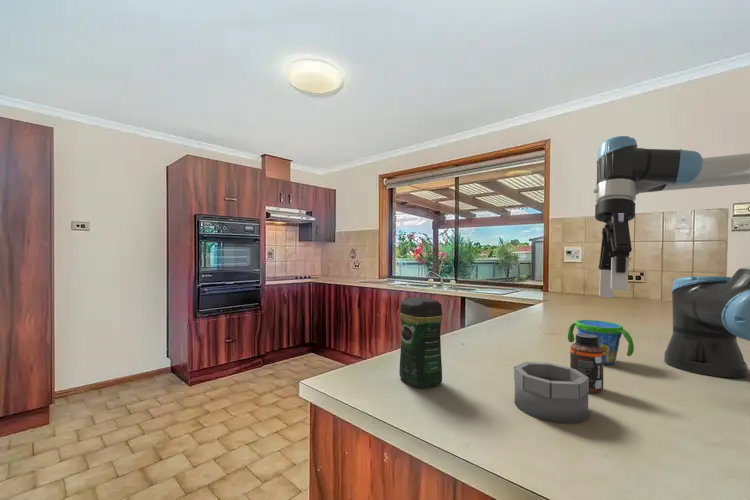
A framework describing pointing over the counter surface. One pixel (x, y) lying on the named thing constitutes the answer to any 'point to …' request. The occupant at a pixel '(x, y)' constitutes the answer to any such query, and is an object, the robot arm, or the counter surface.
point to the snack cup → (603, 337)
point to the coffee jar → (421, 342)
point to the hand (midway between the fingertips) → (612, 293)
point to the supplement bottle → (588, 360)
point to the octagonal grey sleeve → (551, 392)
